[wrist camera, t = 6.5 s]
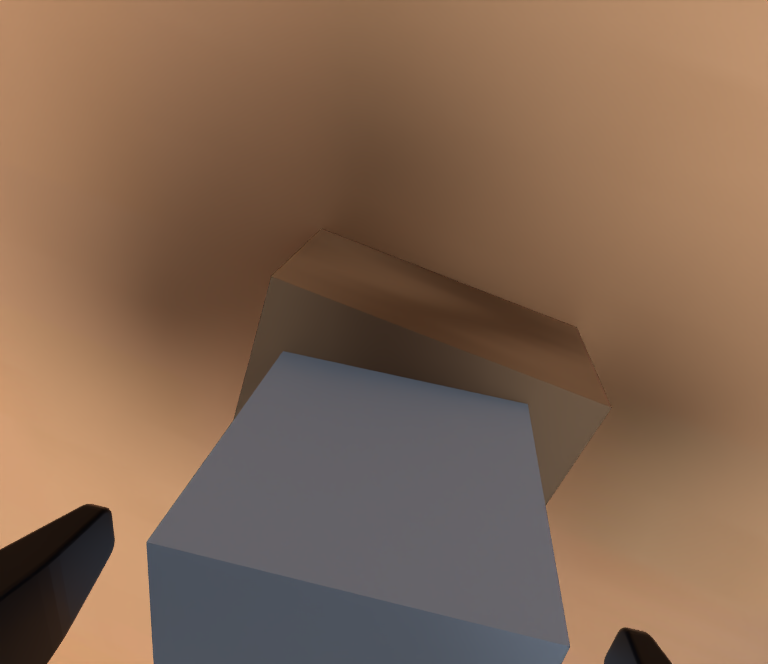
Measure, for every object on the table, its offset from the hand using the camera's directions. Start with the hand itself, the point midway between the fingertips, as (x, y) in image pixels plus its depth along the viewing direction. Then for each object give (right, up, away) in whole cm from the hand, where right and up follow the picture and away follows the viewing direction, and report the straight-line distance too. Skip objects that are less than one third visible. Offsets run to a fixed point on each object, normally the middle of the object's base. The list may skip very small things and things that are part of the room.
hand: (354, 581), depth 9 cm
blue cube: (+1, +1, +3) cm, 3 cm away
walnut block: (+1, +3, +6) cm, 7 cm away
